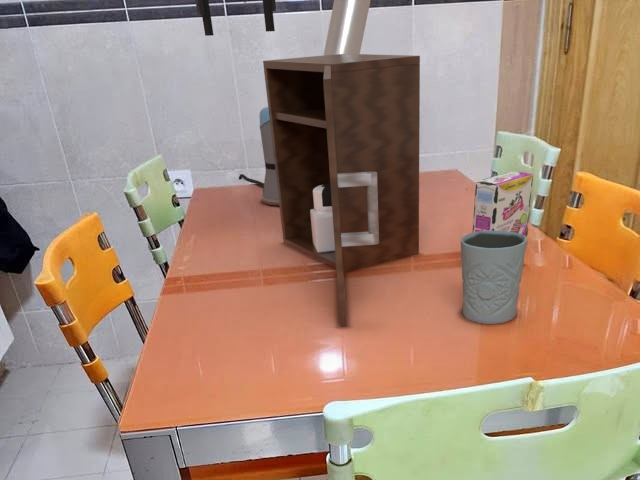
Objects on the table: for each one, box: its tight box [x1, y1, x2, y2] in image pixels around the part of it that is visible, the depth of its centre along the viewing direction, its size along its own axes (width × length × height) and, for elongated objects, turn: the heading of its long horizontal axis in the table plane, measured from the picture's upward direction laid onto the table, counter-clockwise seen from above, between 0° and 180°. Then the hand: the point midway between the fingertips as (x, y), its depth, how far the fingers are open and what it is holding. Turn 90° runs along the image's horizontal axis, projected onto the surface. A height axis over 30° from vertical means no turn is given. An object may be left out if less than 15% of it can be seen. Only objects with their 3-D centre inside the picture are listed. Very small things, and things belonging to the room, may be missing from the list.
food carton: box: [472, 171, 534, 238], centre depth 118 cm, size 11×5×16 cm, turn 135°
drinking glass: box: [460, 231, 528, 325], centre depth 103 cm, size 10×10×12 cm
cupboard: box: [262, 53, 421, 273], centre depth 129 cm, size 18×26×34 cm
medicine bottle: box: [310, 184, 335, 253], centre depth 133 cm, size 7×7×12 cm
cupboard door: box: [323, 66, 379, 327], centre depth 105 cm, size 7×26×34 cm, turn 2°
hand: (240, 33), depth 133 cm, fingers open, 13 cm apart
